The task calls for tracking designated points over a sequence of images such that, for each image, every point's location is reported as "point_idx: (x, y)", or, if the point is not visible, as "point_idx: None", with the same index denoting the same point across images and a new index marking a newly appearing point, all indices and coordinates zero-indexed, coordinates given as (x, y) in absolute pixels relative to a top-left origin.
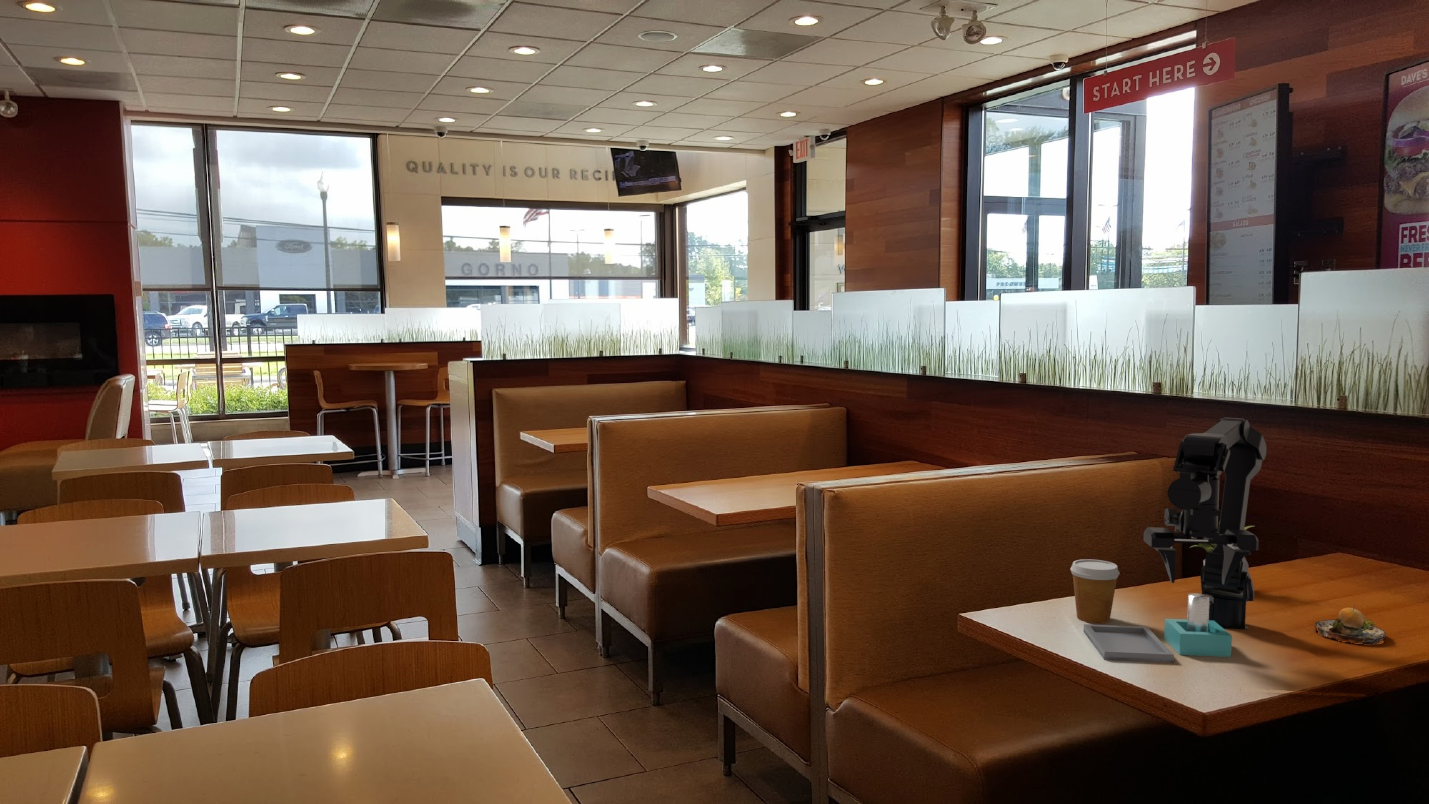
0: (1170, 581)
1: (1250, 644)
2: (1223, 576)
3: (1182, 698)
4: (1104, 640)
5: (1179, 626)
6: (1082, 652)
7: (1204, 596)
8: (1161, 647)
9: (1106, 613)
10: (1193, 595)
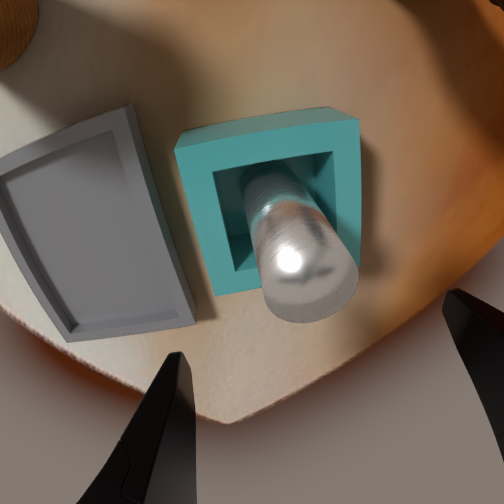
0: (169, 356)
1: (419, 97)
2: (465, 330)
3: (206, 407)
4: (38, 239)
5: (219, 229)
6: (25, 288)
7: (337, 287)
8: (168, 291)
9: (7, 52)
10: (289, 288)
